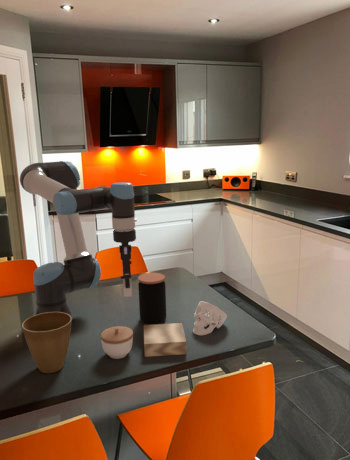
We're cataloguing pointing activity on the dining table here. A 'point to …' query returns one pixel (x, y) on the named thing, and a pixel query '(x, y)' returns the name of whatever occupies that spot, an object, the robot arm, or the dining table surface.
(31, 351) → the plant pot
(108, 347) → the lidded jar
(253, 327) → the dining table surface
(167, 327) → the beech block
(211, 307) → the skull bowl
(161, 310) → the coffee jar
